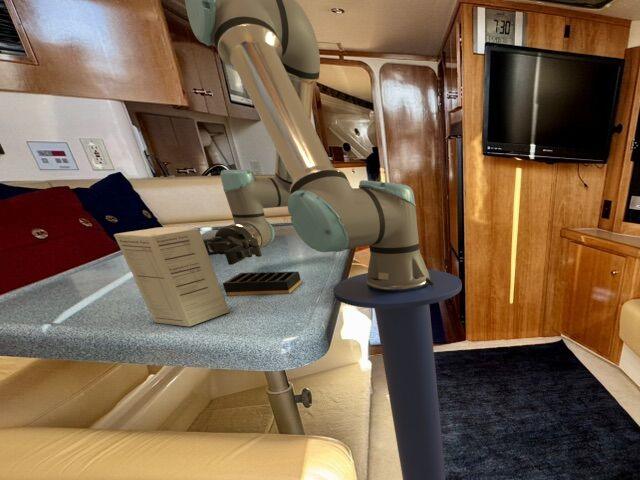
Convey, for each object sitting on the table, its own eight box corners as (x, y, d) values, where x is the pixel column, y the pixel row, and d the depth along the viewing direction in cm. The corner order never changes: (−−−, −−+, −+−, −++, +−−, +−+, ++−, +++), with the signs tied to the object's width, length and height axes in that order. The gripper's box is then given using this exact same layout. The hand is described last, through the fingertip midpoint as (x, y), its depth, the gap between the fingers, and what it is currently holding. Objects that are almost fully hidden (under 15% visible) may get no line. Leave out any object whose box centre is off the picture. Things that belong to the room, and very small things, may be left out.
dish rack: (301, 282, 104) (298, 271, 103) (289, 293, 96) (286, 281, 94) (244, 284, 102) (240, 272, 101) (226, 295, 94) (222, 283, 92)
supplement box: (231, 312, 84) (201, 228, 76) (190, 327, 76) (151, 235, 68) (196, 308, 86) (163, 225, 78) (152, 322, 78) (111, 232, 70)
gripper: (294, 254, 104) (262, 275, 86) (190, 256, 101) (134, 278, 83) (286, 224, 101) (251, 239, 82) (178, 225, 97) (117, 241, 79)
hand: (193, 258), depth 83 cm, fingers open, 13 cm apart
